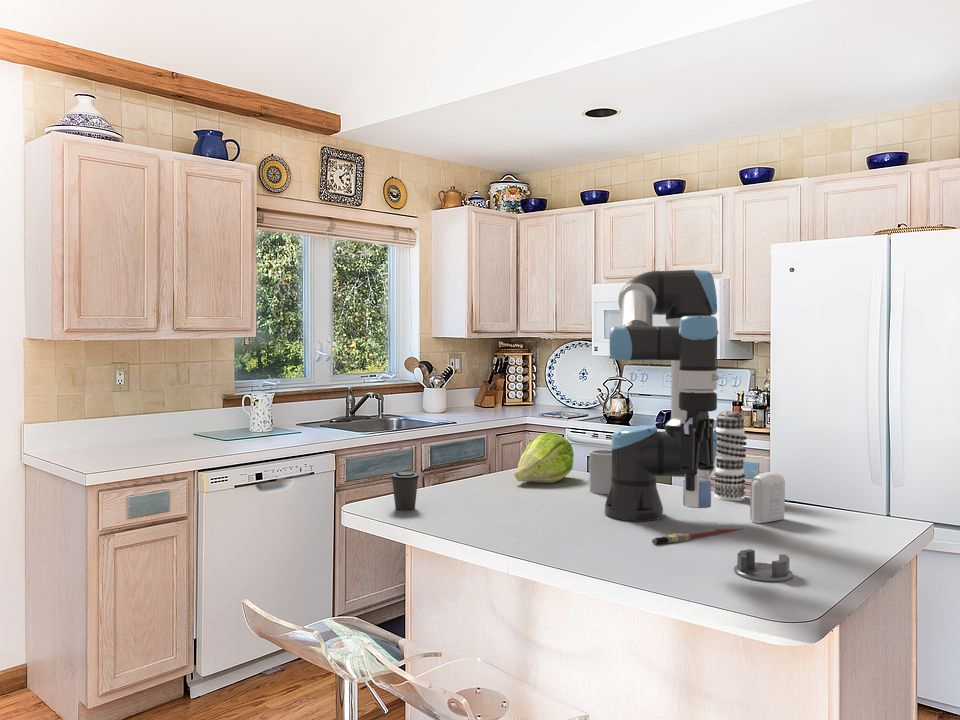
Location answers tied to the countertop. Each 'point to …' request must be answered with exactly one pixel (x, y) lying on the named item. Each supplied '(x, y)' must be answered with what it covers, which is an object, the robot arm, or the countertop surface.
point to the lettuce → (545, 459)
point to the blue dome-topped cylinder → (701, 493)
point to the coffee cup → (405, 490)
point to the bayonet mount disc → (762, 568)
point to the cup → (600, 471)
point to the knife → (688, 536)
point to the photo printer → (767, 497)
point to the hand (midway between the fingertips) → (696, 503)
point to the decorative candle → (730, 456)
